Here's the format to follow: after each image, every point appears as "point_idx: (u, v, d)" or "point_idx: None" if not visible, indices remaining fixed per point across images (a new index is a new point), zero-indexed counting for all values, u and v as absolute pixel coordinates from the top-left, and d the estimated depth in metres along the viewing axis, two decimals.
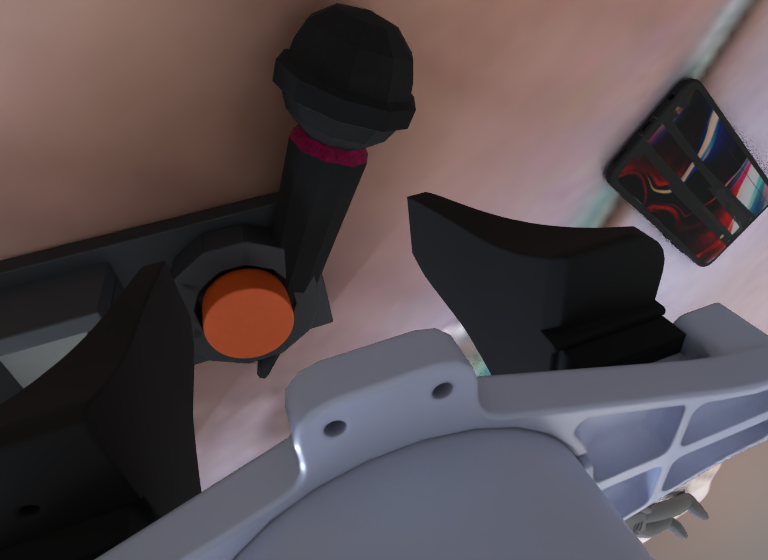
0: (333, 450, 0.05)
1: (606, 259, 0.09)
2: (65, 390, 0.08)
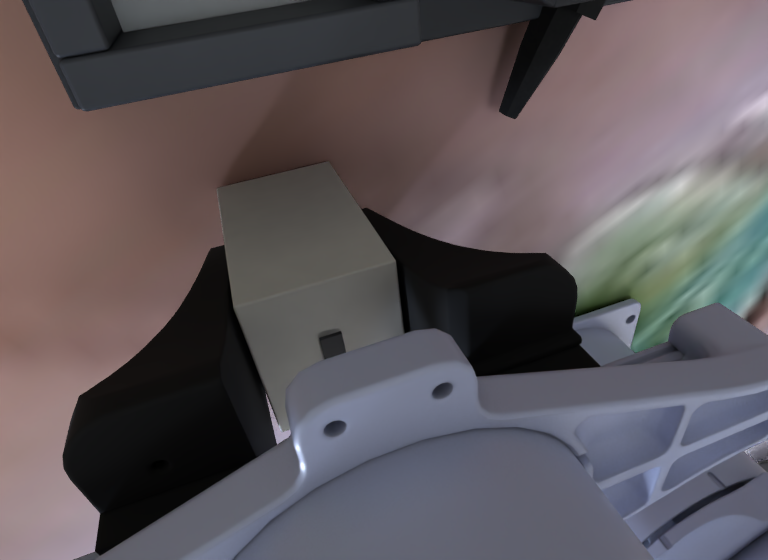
0: (333, 450, 0.05)
1: (509, 290, 0.08)
2: (182, 354, 0.08)
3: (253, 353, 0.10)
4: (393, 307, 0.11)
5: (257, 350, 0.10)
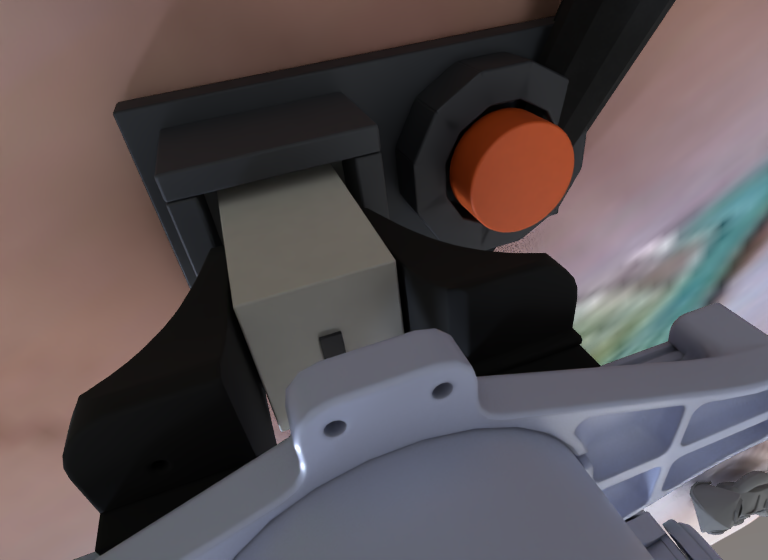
0: (333, 450, 0.05)
1: (509, 290, 0.08)
2: (182, 355, 0.08)
3: (253, 353, 0.10)
4: (393, 307, 0.11)
5: (257, 350, 0.10)
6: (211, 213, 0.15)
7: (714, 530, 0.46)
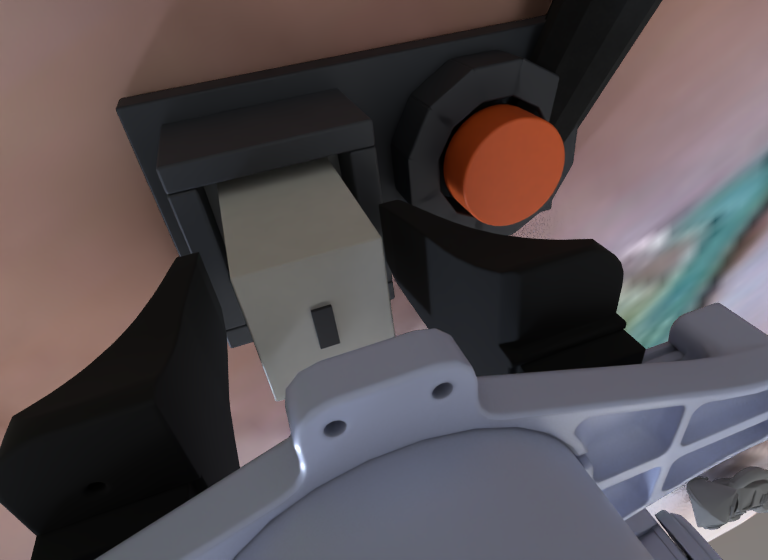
0: (333, 450, 0.05)
1: (560, 274, 0.08)
2: (125, 372, 0.08)
3: (249, 324, 0.11)
4: (380, 282, 0.12)
5: (253, 321, 0.11)
6: (211, 206, 0.15)
7: (710, 525, 0.46)
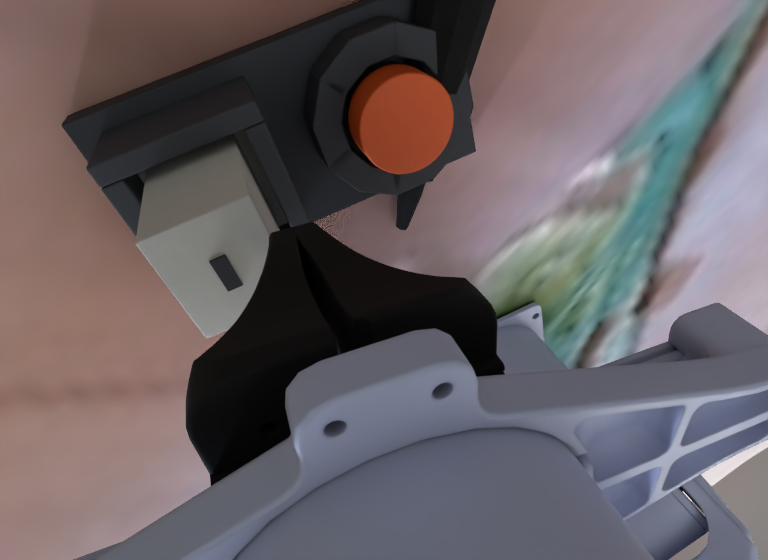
0: (333, 450, 0.05)
1: (419, 319, 0.08)
2: (282, 325, 0.08)
3: (162, 277, 0.14)
4: (261, 231, 0.14)
5: (164, 274, 0.14)
6: None
7: None
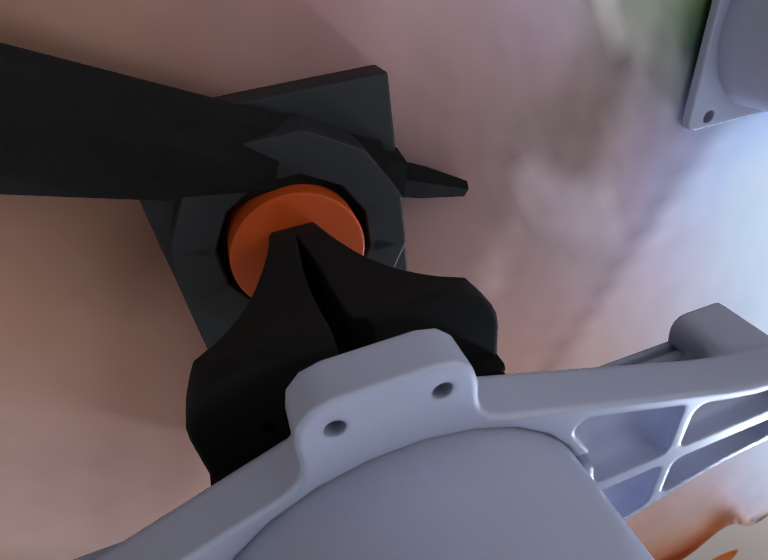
0: (333, 450, 0.05)
1: (419, 318, 0.08)
2: (282, 324, 0.08)
3: None
4: None
5: None
6: None
7: None
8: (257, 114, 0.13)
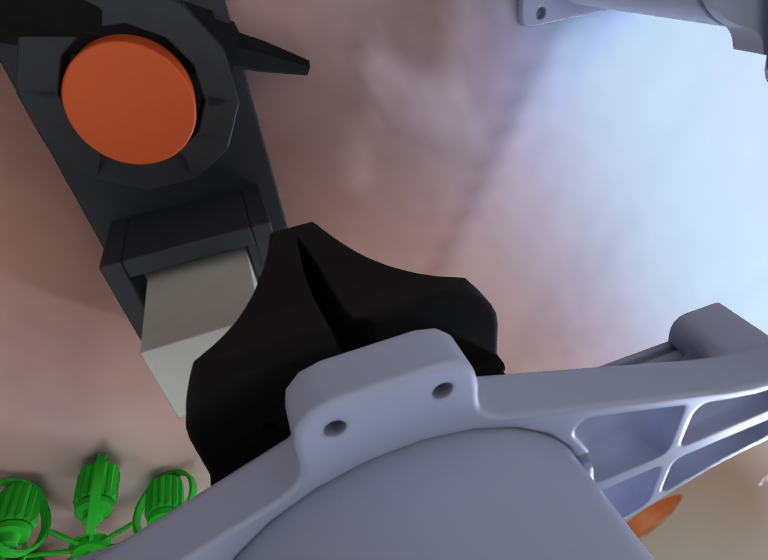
0: (333, 450, 0.05)
1: (419, 319, 0.08)
2: (282, 324, 0.08)
3: None
4: (179, 346, 0.16)
5: None
6: None
7: None
8: None
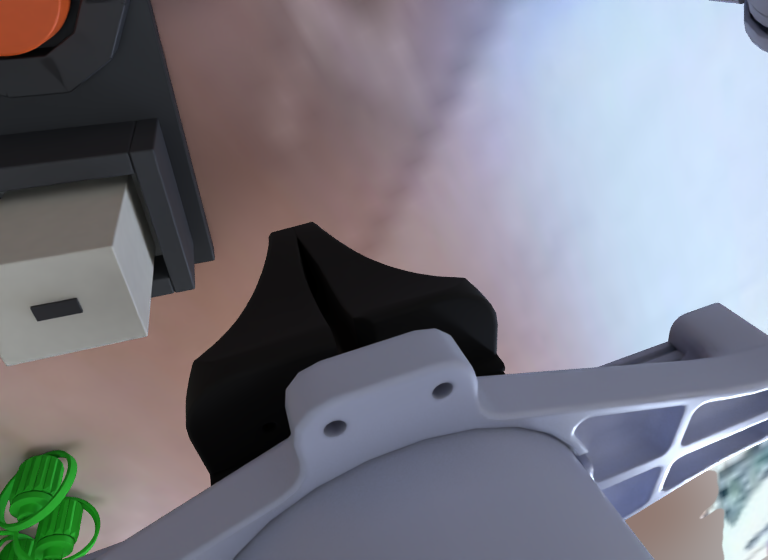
0: (333, 450, 0.05)
1: (419, 319, 0.08)
2: (282, 324, 0.08)
3: (53, 355, 0.15)
4: (2, 271, 0.13)
5: (50, 353, 0.15)
6: None
7: None
8: None
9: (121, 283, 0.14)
